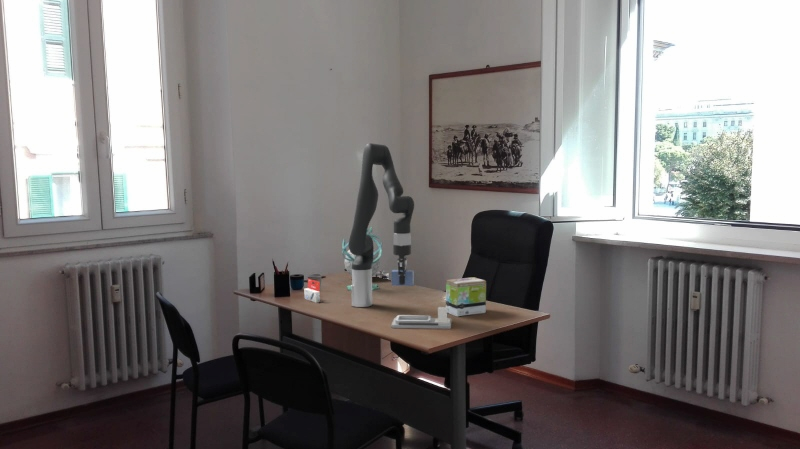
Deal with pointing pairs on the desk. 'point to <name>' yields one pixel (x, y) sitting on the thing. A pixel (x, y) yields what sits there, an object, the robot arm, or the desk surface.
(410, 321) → the dock
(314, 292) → the ink cartridge box
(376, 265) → the decorative sphere
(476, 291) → the tea box
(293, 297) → the desk surface
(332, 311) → the desk surface
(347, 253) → the armillary sphere
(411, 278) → the blue block
